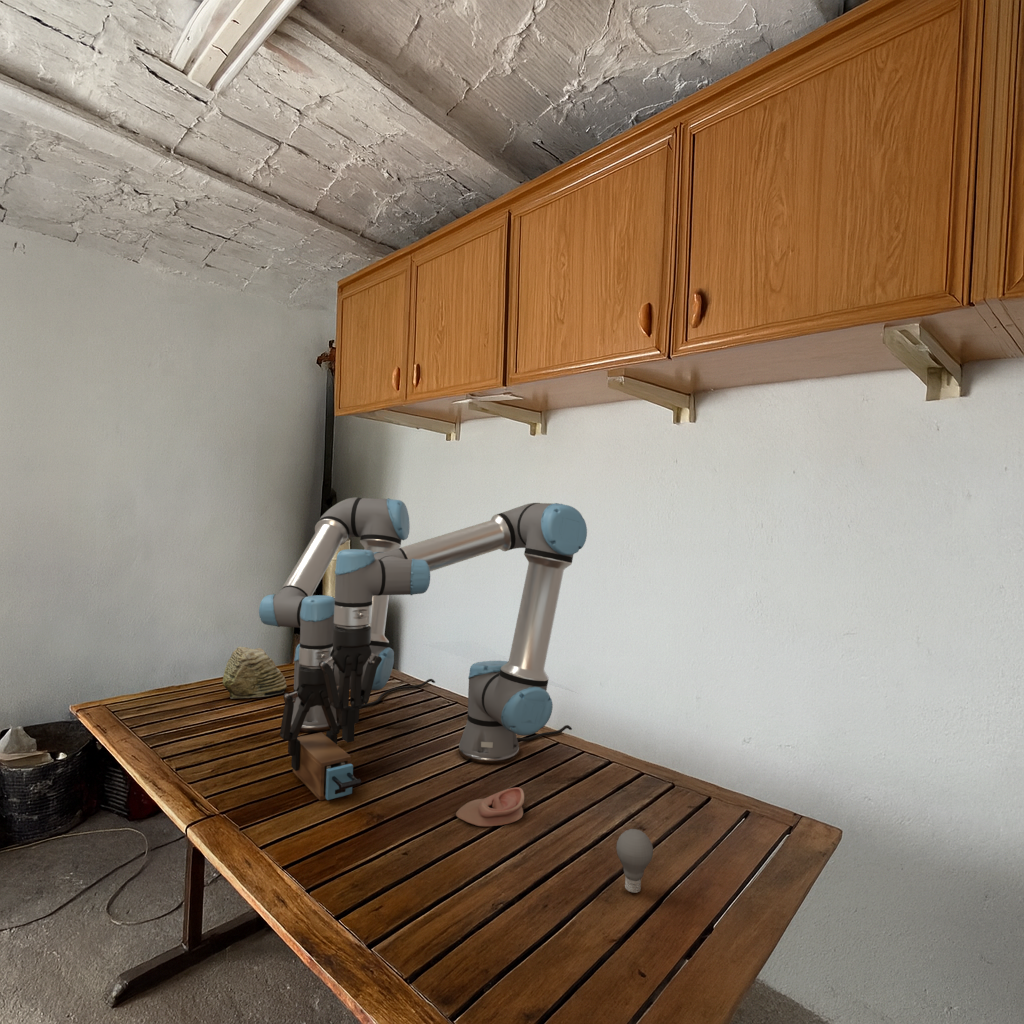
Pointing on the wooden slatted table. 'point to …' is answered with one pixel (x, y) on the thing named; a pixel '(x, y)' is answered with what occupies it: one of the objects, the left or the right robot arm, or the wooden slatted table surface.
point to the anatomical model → (494, 808)
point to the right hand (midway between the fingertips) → (348, 739)
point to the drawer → (339, 780)
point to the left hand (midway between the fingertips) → (312, 764)
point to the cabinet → (318, 761)
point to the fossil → (252, 674)
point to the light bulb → (634, 857)
